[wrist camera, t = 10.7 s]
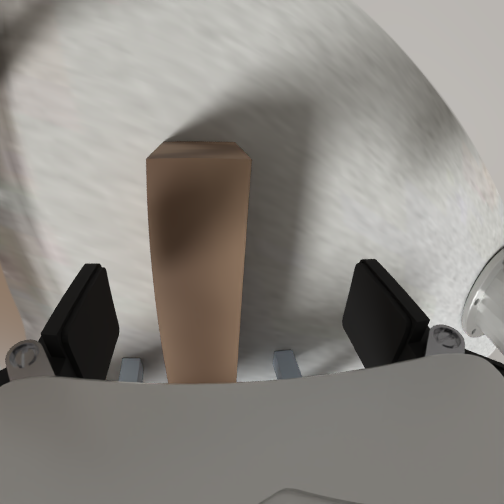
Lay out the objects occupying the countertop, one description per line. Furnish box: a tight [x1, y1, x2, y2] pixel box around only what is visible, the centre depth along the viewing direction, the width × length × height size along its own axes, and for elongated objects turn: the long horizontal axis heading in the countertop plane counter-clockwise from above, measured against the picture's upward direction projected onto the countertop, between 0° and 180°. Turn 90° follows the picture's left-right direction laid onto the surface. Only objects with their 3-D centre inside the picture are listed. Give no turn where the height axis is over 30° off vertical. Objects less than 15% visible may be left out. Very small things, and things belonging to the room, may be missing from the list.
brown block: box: [146, 141, 252, 384], centre depth 18 cm, size 4×18×6 cm, turn 176°
